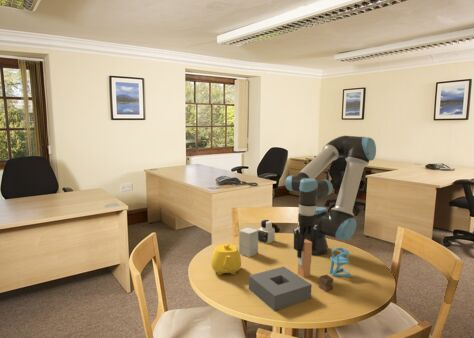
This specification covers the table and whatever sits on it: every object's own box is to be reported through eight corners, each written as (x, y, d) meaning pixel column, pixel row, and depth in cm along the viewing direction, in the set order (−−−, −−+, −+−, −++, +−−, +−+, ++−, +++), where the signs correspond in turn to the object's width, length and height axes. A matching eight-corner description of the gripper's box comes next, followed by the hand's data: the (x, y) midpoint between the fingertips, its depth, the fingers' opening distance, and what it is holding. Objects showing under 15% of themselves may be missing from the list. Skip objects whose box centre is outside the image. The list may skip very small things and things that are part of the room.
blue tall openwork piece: (326, 270, 161) (328, 246, 159) (342, 269, 163) (344, 245, 161) (334, 278, 154) (336, 253, 152) (351, 276, 156) (353, 251, 154)
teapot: (238, 262, 169) (239, 237, 167) (243, 282, 149) (244, 254, 147) (210, 262, 168) (211, 238, 166) (212, 283, 148) (212, 255, 146)
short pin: (325, 285, 148) (326, 274, 147) (332, 289, 144) (333, 278, 144) (318, 287, 146) (319, 276, 145) (325, 291, 142) (326, 280, 142)
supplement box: (258, 253, 180) (259, 230, 178) (249, 257, 174) (249, 233, 172) (247, 249, 185) (248, 226, 183) (238, 253, 179) (238, 230, 177)
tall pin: (304, 271, 160) (306, 239, 157) (310, 275, 156) (311, 242, 154) (297, 273, 158) (299, 240, 155) (303, 277, 154) (305, 243, 152)
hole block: (283, 279, 153) (283, 266, 152) (310, 298, 137) (311, 284, 136) (248, 288, 144) (249, 275, 143) (274, 310, 128) (274, 295, 127)
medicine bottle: (257, 241, 196) (257, 220, 194) (264, 237, 202) (265, 218, 200) (267, 244, 192) (268, 223, 190) (274, 240, 197) (275, 220, 195)
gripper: (315, 208, 160) (312, 256, 164) (286, 213, 151) (284, 263, 155) (327, 213, 153) (324, 262, 157) (297, 218, 145) (294, 270, 149)
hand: (304, 262), depth 156 cm, fingers closed on tall pin, 4 cm apart
